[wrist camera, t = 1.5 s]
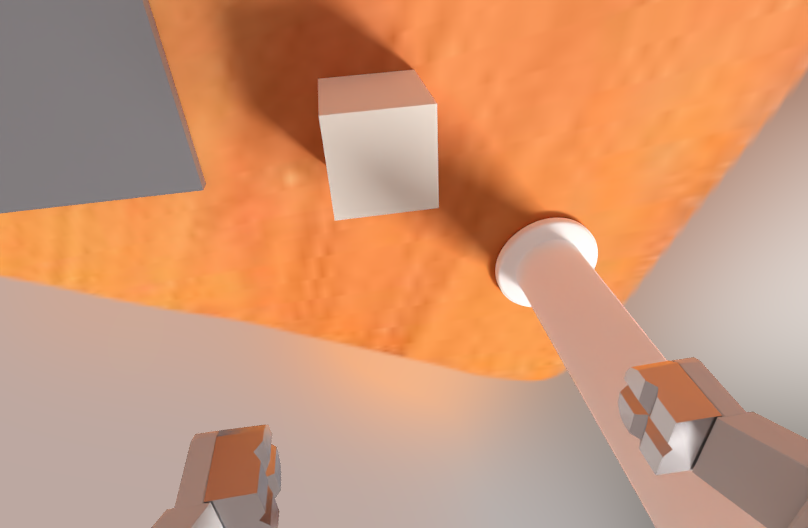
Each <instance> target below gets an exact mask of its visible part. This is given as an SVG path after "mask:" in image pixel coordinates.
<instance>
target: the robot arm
mask: <svg viewBox="0 0 808 528" xmlns="http://www.w3.org/2000/svg"><path fill="white" fill-rule="evenodd" d="M624 380H625V381H626V383H627V384H628V385H627V386H626V387H625V388H624V389H623V390H622V391H621V392H620V394H619V399H618V407H619V414H620V416H621V419H622V422H623V424H624V425H625V427H626V429H627V430H628V432H629V433H630V434H632V435H634V436H635V437H637V438H638V439H640V447H639V450H640V451H641V453H642V455H643V456H644V458H645V459H646V461H647V463H648V464H649V466H650V467H651V469H652V470H653V472H654V474H655V475H662V474H669V473H676V472H682V471H689V470H693V471H692V472H693V473H694V474H695V475H697V476H698V477H699V478H701V479H702V480H703V481H705V482H706V483H707V484H709V485H710V486H711V487H713V488H714V489H715V490H717V491H718V492H719V493H721V494H722V495H723V496H725V497H726V498H727V499H729V500H730V501H731V502H733V503H734V504H735V505H737V506H738V507H739V508H741V509H742V510H743V511H745V512H746V513H747V514H749V515H750V516H751V517H753V518H754V519H755V520H757V521H758V522H759V523H761V524H762V525H764V526H765V527H766V528H808V440H807V439H806V438H804V437H802V436H800V435H798V434H796V433H794V432H792V431H790V430H788V429H786V428H784V427H782V426H780V425H778V424H776V423H774V422H772V421H770V420H768V419H766V418H764V417H762V416H760V415H758V414H756V413H754V412H745V410H744V409H743V408H742V407H741V406H740V405H739V404H738V403H737V402H736V400H735V399H734V398H733V397H732V396H731V395H730V394H729V393H728V391H727V390H726V389H725V388H724V387H723V386H722V385H721V384H720V383H719V381H718V380H717V379H716V378H715V377H714V376H713V375H712V374H711V373H710V371H709V370H708V369H707V368H706V367H705V366H704V365H703V364H702V362H701V361H699V360H698V359H696V358H694V357H692V358H685V359H679V360H673V361H663V362H658V363H652V364H646V365H640V366H634V367H630V368H629V369H628V370H627V371H626V373H625V376H624ZM271 441H272V432H271V430H270V427H269V425H259V426H252V427H244V428H236V429H228V430H221V431H214V432H207V433H200V434H195V436H194V437H193V439H192V441H191V443H190V447H189V451H188V455H187V459H186V463H185V467H184V471H183V475H182V479H181V483H180V487H179V492H178V495H177V500H176V503H175V508H172V509H167V510H166V511H165V512H164V514H163V515H162V516H161V517H160V518H159V519H158V521H157V522H156V523H155V524H154V525H153V526H152V527H151V528H278V520H279V509H278V506H277V503H276V501H275V498H276V496H277V495H278V493H279V492H280V490H281V466H280V459H279V454H278V451H277V447H276V446H274V445H272V444H271Z"/></svg>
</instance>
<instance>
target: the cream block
mask: <svg viewBox="0 0 808 528" xmlns="http://www.w3.org/2000/svg"><path fill="white" fill-rule="evenodd" d="M318 113H319V122H320V128H321V135H322V141H323V147H324V154H325V160H326V167H327V173H328V179H329V186H330V192H331V199H332V205H333V211H334V218H335V220H343V219H351V218H360V217H368V216H376V215H384V214H393V213H401V212H409V211H417V210H425V209H434V208H439V186H438V128H437V103H436V101H435V100H434V98H433V97H432V95H431V94H430V92H429V91H428V89H427V88H426V86H425V85H424V83H423V82H422V80H421V79H420V77H419V76H418V74H417V73H416V71H415V70H404V71H393V72H383V73H372V74H362V75H352V76H341V77H331V78H320V79H318Z"/></svg>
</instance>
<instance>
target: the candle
mask: <svg viewBox="0 0 808 528" xmlns="http://www.w3.org/2000/svg"><path fill="white" fill-rule="evenodd" d="M597 258H598V248H597V244H596V241H595V239H594V237H593V235H592V234H591V233H590V231H589V230H588V229H587V228H586V227H585V226H583V225H582V224H580V223H579V222H577V221H574V220H572V219H568V218H547V219H543V220H539V221H536V222H534V223H531V224H529V225H527V226H526V227H524V228H522V229H521V230H519V231H518V232H517V233H515V234H514V235H513V236H512V237H511V238H510V239H509V240H508V241H507V243H506V244H505V245H504V247H503V248H502V250H501V252H500V254H499V256H498V258H497V262H496V267H495V275H496V280H497V283H498V286H499V287H500V289H501V291H502V293H503V294H504V295H505V296H506V297H507V298H508V299H509V300H511V301H512V302H514V303H516V304H519V305H522V306H527V307H532V308H533V310H534V312H535V313H536V315H537V317H538V319H539V321H540V322H541V324H542V326H543V328H544V330H545V331H546V333H547V335H548V337H549V338H550V340H551V342H552V344H553V346H554V347H555V349H556V351H557V353H558V354H559V356H560V358H561V360H562V362H563V363H564V365H565V367H566V369H567V371H568V372H569V374H570V376H571V378H572V379H573V381H574V383H575V385H576V386H577V388H578V390H579V392H580V394H581V395H582V397H583V399H584V401H585V403H586V404H587V406H588V407H589V410H590V411H591V413H592V415H593V417H594V419H595V420H596V422H597V424H598V426H599V428H600V429H601V431H602V433H603V435H604V436H605V438H606V440H607V442H608V444H609V445H610V447H611V449H612V451H613V453H614V454H615V456H616V458H617V460H618V461H619V463H620V465H621V467H622V468H623V470H624V472H625V474H626V476H627V477H628V479H629V481H630V483H631V484H632V486H633V488H634V490H635V492H636V493H637V495H638V497H639V499H640V501H641V502H642V504H643V506H644V508H645V510H646V511H647V513H648V515H649V517H650V518H651V520H652V522H653V524H654V526H655V527H656V528H766V527H765V526H764V525H762V524H761V523H759V522H758V521H757V520H755V519H754V518H753V517H751V516H750V515H749V514H747V513H746V512H745V511H743V510H742V509H741V508H739V507H738V506H737V505H735V504H734V503H733V502H731V501H730V500H729V499H727V498H726V497H725V496H723V495H722V494H721V493H719V492H718V491H717V490H715V489H714V488H713V487H711V486H710V485H709V484H707V483H706V482H705V481H703V480H702V479H701V478H699V477H698V476H697V475H695V474H694V473H693V472H692V471H693V470H689V471H682V472H676V473H669V474H662V475H655V474H654V472H653V470H652V469H651V467H650V466H649V464H648V463H647V461H646V459H645V458H644V456H643V455H642V453H641V451H640V450H639V447H640V439H638V438H637V437H635V436H634V435H632V434H630V433H629V432H628V430H627V429H626V427H625V425H624V424H623V422H622V419H621V416H620V414H619V407H618V399H619V394H620V392H621V391H622V390H623V389H624V388H625V387H626V386H627V385H628V384H627V383H626V381H625V380H624V376H625V373H626V371H627V370H628V369H629V368H630V367H634V366H640V365H646V364H652V363H658V362H663V361H667V360H666V359H665V357H664V356H663V355H662V354H661V352H660V351H659V350H658V349H657V347H656V346H655V345H654V344H653V342H652V341H651V340H650V339H649V337H648V336H647V335H646V334H645V332H644V331H643V330H642V329H641V327H640V326H639V325H638V324H637V322H636V321H635V320H634V319H633V317H632V316H631V315H630V314H629V313H628V312H627V310H626V309H625V307H624V306H623V305H622V304H621V302H620V301H619V300H618V299H617V297H616V296H615V295H614V294H613V292H612V291H611V290H610V289H609V287H608V286H607V285H606V284H605V282H604V281H603V280H602V279H601V277H600V276H599V275H598V274H597V272H596V271H595V270H594V269H595V266H596V263H597Z"/></svg>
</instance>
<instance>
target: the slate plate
mask: <svg viewBox="0 0 808 528" xmlns="http://www.w3.org/2000/svg"><path fill="white" fill-rule="evenodd" d="M205 185H206V183H205V179H204V176H203V173H202V170H201V167H200V164H199V160H198V157H197V154H196V151H195V148H194V144H193V141H192V138H191V135H190V132H189V129H188V125H187V122H186V119H185V116H184V113H183V110H182V106H181V103H180V100H179V97H178V94H177V90H176V87H175V84H174V81H173V78H172V75H171V71H170V68H169V65H168V62H167V59H166V55H165V52H164V49H163V46H162V43H161V40H160V36H159V33H158V30H157V27H156V24H155V21H154V17H153V14H152V11H151V8H150V5H149V1H148V0H0V213H7V212H16V211H24V210H33V209H42V208H51V207H59V206H68V205H77V204H86V203H95V202H103V201H112V200H121V199H130V198H138V197H147V196H156V195H165V194H174V193H182V192H191V191H200V190H203V189H204V187H205Z"/></svg>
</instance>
